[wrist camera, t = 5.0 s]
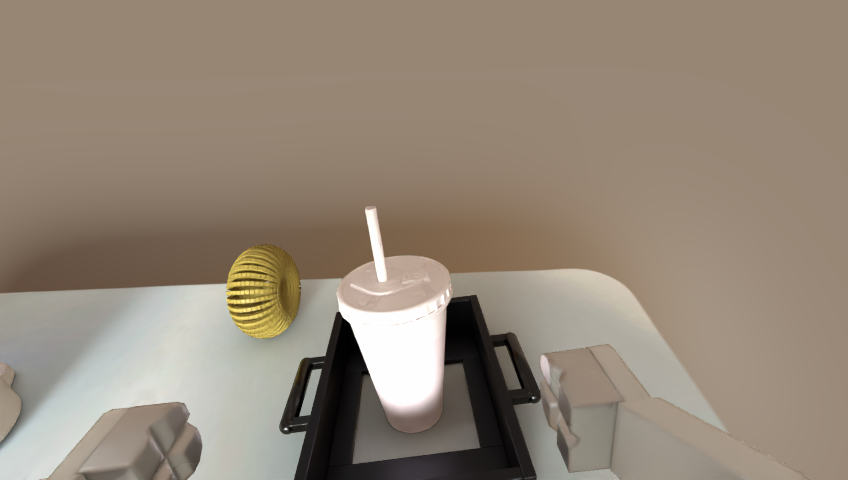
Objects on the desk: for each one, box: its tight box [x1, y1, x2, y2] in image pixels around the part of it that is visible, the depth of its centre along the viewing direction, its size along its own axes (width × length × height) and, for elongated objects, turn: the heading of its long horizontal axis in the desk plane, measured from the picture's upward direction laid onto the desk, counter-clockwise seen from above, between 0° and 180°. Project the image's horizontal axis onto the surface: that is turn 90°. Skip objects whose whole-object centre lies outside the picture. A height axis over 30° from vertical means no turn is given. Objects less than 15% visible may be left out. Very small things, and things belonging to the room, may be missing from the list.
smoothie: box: [337, 206, 453, 433], centre depth 23 cm, size 6×6×14 cm
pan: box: [279, 295, 541, 480], centre depth 25 cm, size 15×15×3 cm
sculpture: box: [226, 244, 301, 338], centre depth 34 cm, size 8×4×8 cm, turn 176°
